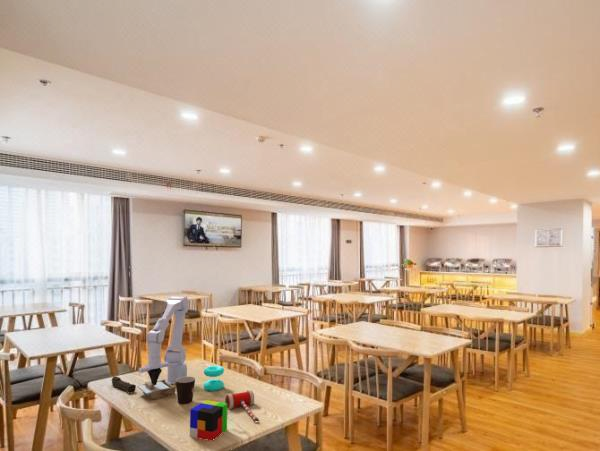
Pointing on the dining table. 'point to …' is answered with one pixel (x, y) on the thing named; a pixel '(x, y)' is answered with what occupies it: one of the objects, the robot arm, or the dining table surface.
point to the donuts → (213, 383)
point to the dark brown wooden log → (123, 384)
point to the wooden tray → (162, 391)
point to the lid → (152, 387)
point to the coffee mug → (185, 389)
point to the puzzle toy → (208, 419)
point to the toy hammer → (241, 401)
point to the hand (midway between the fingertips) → (154, 384)
